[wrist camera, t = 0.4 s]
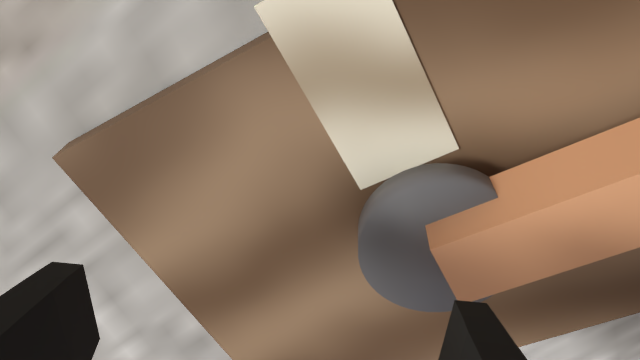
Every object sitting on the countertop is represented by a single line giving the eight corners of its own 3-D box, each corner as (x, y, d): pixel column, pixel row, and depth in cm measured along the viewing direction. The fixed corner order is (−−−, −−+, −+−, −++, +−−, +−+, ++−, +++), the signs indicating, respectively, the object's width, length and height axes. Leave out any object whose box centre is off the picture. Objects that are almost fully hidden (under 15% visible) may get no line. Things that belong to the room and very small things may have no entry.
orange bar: (395, 305, 19) (400, 357, 17) (331, 201, 17) (327, 246, 14) (741, 188, 15) (802, 235, 13) (718, 38, 13) (785, 67, 11)
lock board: (777, 245, 19) (819, 280, 17) (284, 393, 25) (279, 430, 24) (714, -267, 12) (774, -292, 10) (50, 120, 18) (18, 145, 17)
